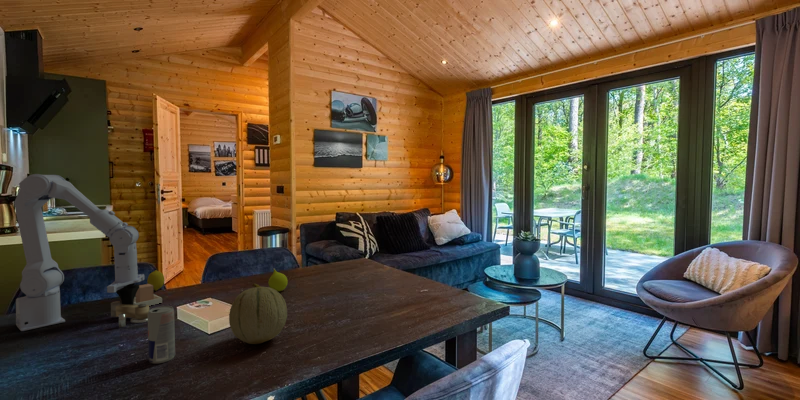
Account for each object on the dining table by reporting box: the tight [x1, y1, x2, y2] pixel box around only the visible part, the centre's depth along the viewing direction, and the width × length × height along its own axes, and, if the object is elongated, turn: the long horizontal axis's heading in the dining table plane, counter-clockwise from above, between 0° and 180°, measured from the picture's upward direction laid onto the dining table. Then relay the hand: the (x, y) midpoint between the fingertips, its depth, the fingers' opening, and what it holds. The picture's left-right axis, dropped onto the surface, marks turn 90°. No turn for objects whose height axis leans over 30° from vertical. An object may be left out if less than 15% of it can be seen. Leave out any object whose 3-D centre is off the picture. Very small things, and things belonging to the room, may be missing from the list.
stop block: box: [135, 283, 155, 303], centre depth 130 cm, size 4×4×6 cm
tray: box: [133, 293, 163, 307], centre depth 130 cm, size 8×8×2 cm
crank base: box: [118, 313, 148, 329], centre depth 114 cm, size 10×6×4 cm, turn 143°
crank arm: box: [110, 300, 150, 319], centre depth 116 cm, size 12×4×4 cm, turn 82°
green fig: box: [267, 267, 289, 293], centre depth 147 cm, size 7×7×10 cm
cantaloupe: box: [228, 283, 288, 345], centre depth 101 cm, size 15×15×15 cm
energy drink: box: [147, 305, 176, 364], centre depth 90 cm, size 5×5×12 cm
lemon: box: [146, 269, 165, 291], centre depth 146 cm, size 6×6×8 cm
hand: (128, 308), depth 118 cm, fingers closed, pressing on crank arm
